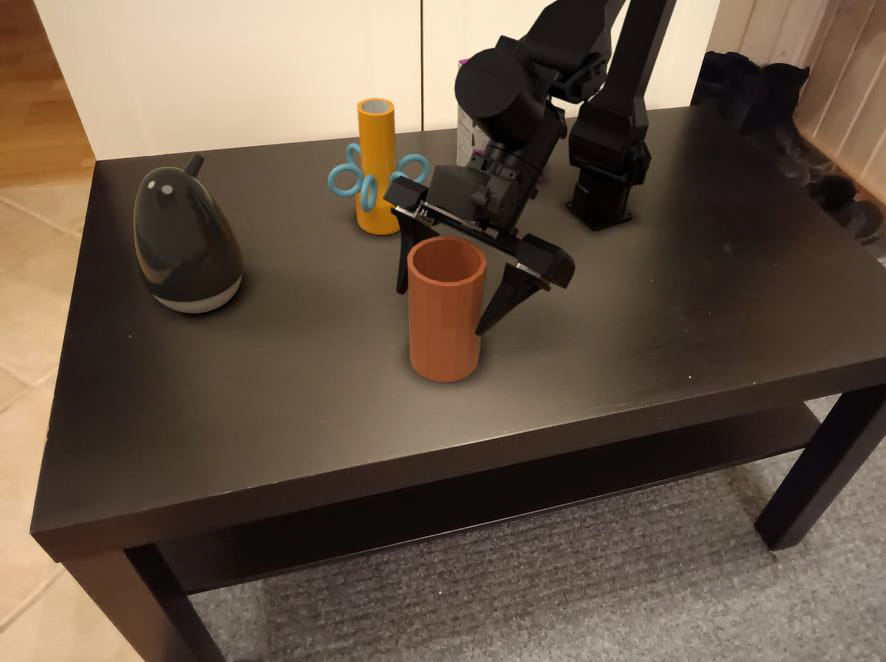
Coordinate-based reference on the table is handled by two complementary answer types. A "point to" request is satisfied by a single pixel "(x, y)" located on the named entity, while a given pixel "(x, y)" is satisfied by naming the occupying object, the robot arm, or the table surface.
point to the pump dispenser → (184, 241)
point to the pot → (445, 307)
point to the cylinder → (375, 167)
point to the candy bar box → (471, 135)
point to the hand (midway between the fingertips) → (437, 314)
